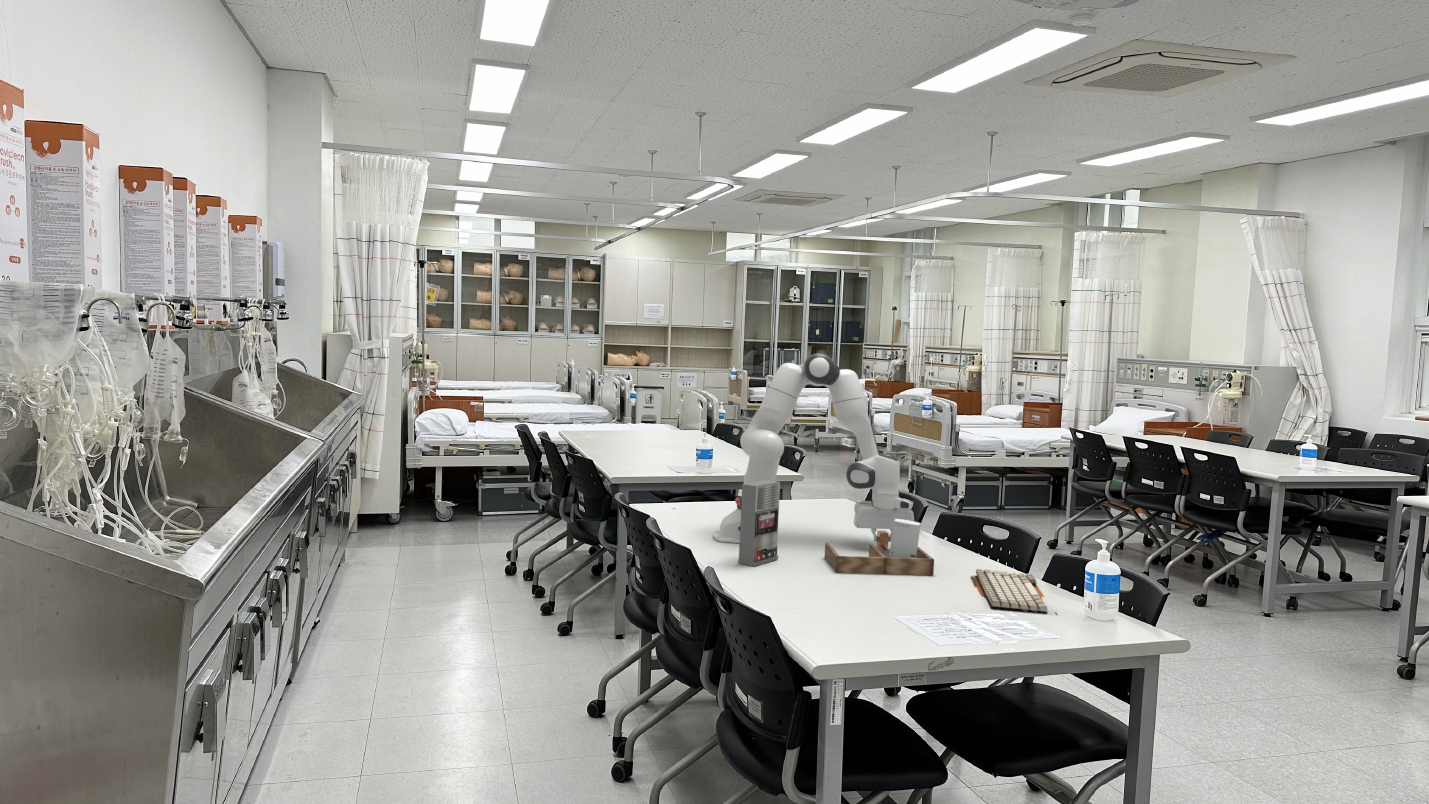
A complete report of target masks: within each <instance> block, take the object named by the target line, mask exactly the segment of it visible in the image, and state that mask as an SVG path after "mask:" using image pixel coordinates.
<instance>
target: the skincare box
mask: <svg viewBox="0 0 1429 804" xmlns="http://www.w3.org/2000/svg"><path fill="white" fill-rule="evenodd" d="M921 525H922V523H921V522H918V521H914V522H913V521H908V520H902V519H895V520H894V524H893V530H892V538H891V542H890V545H889V546H890V547H889V551H890V552H889V557H893V558H916V555H917V548H918V547H919V540H920V533H921Z"/></svg>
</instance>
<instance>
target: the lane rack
mask: <svg viewBox="0 0 1429 804" xmlns="http://www.w3.org/2000/svg"><path fill="white" fill-rule="evenodd" d="M880 551H881V550H880ZM880 551H879V550H878V549H877V548H876V545H874V544H873V543H869V547H868V556H859V555H858V556H857V555H856V556H855V555H839V554H838V553H837V552H836V550H835V549H834V548H833V546H831V544H830V543H829V542H825V543H824V556H823V557H824V560H825V561H827V563H828V565H829V566H830V567H831V568H832V570H833V571H834V572H835V574H836V573H837V574H865V575H869V574H870V575H896V576H897V575H899V576H900V575H901V576H903V575H905V576H934V572H935V571H934V570H935V559H934V558H933V557H932V556H930V554H928V553H927V552H926V551H924V550H923V549H921V547H919V546H918V548H917V555H916V558H893V557H886V556H885V555H883V554H882V553H881V552H880Z"/></svg>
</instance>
